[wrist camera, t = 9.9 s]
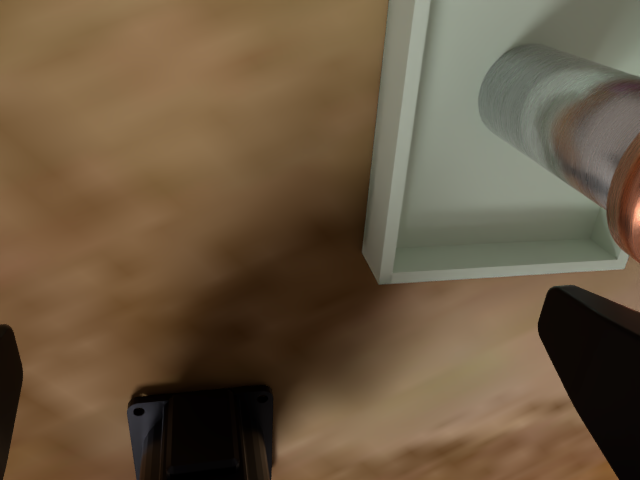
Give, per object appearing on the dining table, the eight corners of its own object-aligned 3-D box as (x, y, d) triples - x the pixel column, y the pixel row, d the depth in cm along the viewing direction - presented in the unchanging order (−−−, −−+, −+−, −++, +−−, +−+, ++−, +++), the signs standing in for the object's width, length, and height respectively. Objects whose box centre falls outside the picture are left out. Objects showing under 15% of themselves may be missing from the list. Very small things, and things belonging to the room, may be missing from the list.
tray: (588, 241, 26) (624, 269, 24) (361, 252, 24) (378, 284, 22) (703, -111, 20) (766, -116, 17) (404, -141, 17) (434, -150, 15)
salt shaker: (562, 152, 23) (768, 276, 15) (453, 154, 22) (607, 287, 14) (597, 27, 21) (862, 93, 12) (476, 23, 20) (677, 91, 11)
